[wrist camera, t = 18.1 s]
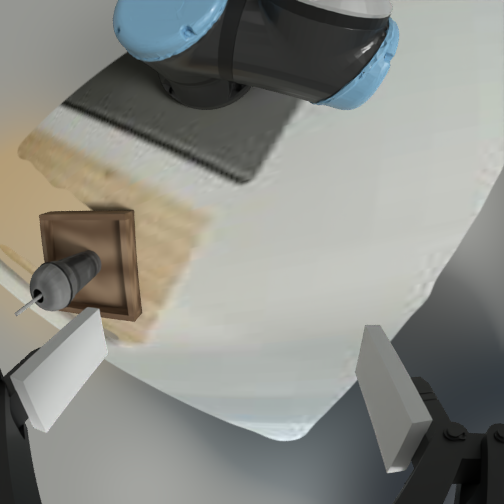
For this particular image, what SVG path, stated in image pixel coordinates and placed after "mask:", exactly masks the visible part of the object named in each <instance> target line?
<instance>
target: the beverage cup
mask: <svg viewBox="0 0 504 504" xmlns="http://www.w3.org/2000/svg"><path fill="white" fill-rule="evenodd" d="M100 270H101V260H100V257H99V256H98V255H97V254H96V253H95V252H94V251H91V250H87V251H84V252H80V253H77V254H74V255H72V256H69V257H66V258H63V259H61V260H58V261H51V262H46V263H43V264H42V265H41V266H40V267H39V268H38V269H37V270H36V271H35V272H34V274H33V275H32V278H31V281H30V293H31V296H32V298H33V300H31V301H30V302H29V303H27V304H26V305H25V306H23V307H22V308H21V309H19V310H18V311H17V312H16V313H15V315H16V316H18V315H19V314H20V313H22V312H23V311H24V310H25V309H27V308H28V307H29V306H31V305H32V304H33V303H36V304H37V305H38V306H39V307H40V308H42V309H44V310H47V311H57V310H60V309H63V308H66V307H67V306H68V305H69V304H70V303H71V301H72V300H73V298H74V297H75V295H76V294H77V293H78V292H79V291H80V290H81V289H82V288H83V287H84V286H85V285H86V284H87V283H89V282H90V281H91V280H92V279H93V278H94V277H95V276H96V275H97V274H98V273H99V272H100Z"/></svg>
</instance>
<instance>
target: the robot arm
mask: <svg viewBox="0 0 504 504" xmlns="http://www.w3.org/2000/svg"><path fill="white" fill-rule="evenodd" d="M392 10H393V6H392V3H391V2H390V0H118V2H117V5H116V7H115V11H114V16H113V27H114V32H115V34H116V37H117V38H118V40H119V42H120V43H121V44H122V45H123V46H124V47H125V48H126V50H127V51H128V52H129V54H131V55H132V56H133V57H135V58H136V59H139V60H141V61H143V62H144V63H145V64H147V65H148V66H150V67H151V68H153V69H154V70H156V71H157V72H158V74H159V78H160V81H161V83H162V85H163V87H164V89H165V90H166V91H167V93H168V94H169V95H170V96H171V97H172V98H174V99H175V100H177V101H178V102H180V103H182V104H183V105H185V106H188V107H191V108H194V109H201V110H211V109H217V108H221V107H225V106H227V105H230V104H232V103H233V102H235V101H237V100H238V99H240V98H241V97H242V96H243V95H245V94H246V93H247V92H248V90H249V89H250V88H251V87H252V86H254V87H258V88H262V89H266V90H270V91H274V92H278V93H281V94H285V95H289V96H292V97H296V98H299V99H303V100H306V101H309V102H310V103H312V104H317V105H326V106H330V107H333V108H337V109H341V110H351V109H355V108H357V107H359V106H361V105H362V104H364V103H365V102H366V101H367V100H368V99H369V98H370V97H371V96H372V95H373V94H374V92H375V91H376V90H377V88H378V87H379V86H380V84H381V83H382V81H383V79H384V78H385V76H386V74H387V72H388V70H389V68H390V60H391V59H392V58H393V57H394V55H395V53H396V49H397V46H398V41H399V29H398V26H397V24H396V22H394V21H393V20H392V19H391V18H390V15H391V12H392ZM107 354H108V351H107V346H106V342H105V337H104V332H103V327H102V321H101V316H100V310H99V308H91V307H87V308H86V309H84V310H83V311H82V312H81V313H80V314H79V315H77V316H76V317H75V318H74V319H73V320H72V321H70V322H69V323H68V324H67V325H66V326H65V327H64V328H62V329H61V330H60V331H59V332H58V333H57V334H56V335H55V336H53V337H52V338H51V339H50V340H49V341H48V342H47V343H46V344H44V345H43V346H42V347H40V348H38V349H36V350H34V351H32V352H30V353H29V354H28V355H27V356H26V357H25V359H23V360H21V362H20V364H19V363H18V364H17V365H16V366H15V367H14V368H13V369H12V370H11V371H10V372H8V373H7V375H5V376H4V377H3V375H2V372H1V370H0V504H42V503H41V499H40V495H39V491H38V487H37V483H36V478H35V473H34V468H33V462H32V457H31V451H30V444H29V439H28V430H27V427H26V424H25V421H26V420H27V419H28V418H29V420H30V422H31V424H32V426H33V428H36V429H38V430H41V431H43V432H45V433H47V432H48V430H49V429H50V428H51V426H52V425H53V424H54V422H55V421H56V420H57V418H58V417H59V416H60V414H61V413H62V412H63V410H64V409H65V408H66V406H67V405H68V404H69V403H70V401H71V400H72V399H73V397H74V396H75V395H76V393H77V392H78V391H79V389H80V388H81V387H82V386H83V384H84V383H85V382H86V381H87V379H88V378H89V377H90V375H91V374H92V373H93V372H94V370H95V369H96V368H97V367H98V365H99V364H100V363H101V362H102V360H103V359H104V358H105V357H106V355H107ZM355 373H356V376H357V379H358V382H359V385H360V388H361V391H362V393H363V396H364V399H365V403H366V406H367V409H368V412H369V415H370V418H371V421H372V424H373V427H374V431H375V434H376V437H377V441H378V444H379V447H380V451H381V454H382V457H383V461H384V464H385V468H386V471H387V473H391V472H397V471H403V470H406V469H407V467H408V466H409V464H410V462H411V461H412V464H413V466H414V470H413V472H412V473H411V475H410V476H409V478H408V479H407V481H406V483H405V485H404V487H403V488H402V490H401V492H400V493H399V494H398V496H397V498H396V499H395V501H394V502H393V504H443V502H444V500H445V498H446V496H447V494H448V491H449V489H450V487H451V485H452V484H456V493H455V500H454V504H504V424H501V423H500V424H494V425H491V426H490V428H489V429H488V430H487V432H486V433H485V434H478V433H468V431H467V429H466V428H464V426H463V425H461V424H459V423H456V422H451V421H450V419H449V417H448V415H447V414H446V412H445V410H444V408H443V407H442V405H441V403H440V402H439V400H437V396H436V395H435V393H433V390H432V388H431V386H430V385H429V383H428V382H426V381H425V380H424V379H422V378H421V377H412V378H410V376H409V375H408V373H407V371H406V369H405V367H404V366H403V364H402V362H401V360H400V359H399V357H398V355H397V353H396V352H395V350H394V348H393V346H392V345H391V343H390V341H389V339H388V338H387V336H386V334H385V333H384V331H383V329H382V328H381V326H380V325H365V328H364V333H363V338H362V343H361V348H360V353H359V357H358V362H357V366H356V371H355Z"/></svg>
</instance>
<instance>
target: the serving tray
mask: <svg viewBox="0 0 504 504" xmlns="http://www.w3.org/2000/svg"><path fill="white" fill-rule="evenodd" d="M39 218H40V228H41V237H42V246H43V254H44V260H45V263H46V262H51V261H58V260H61V259H63V258H66V257H69V256H72V255H74V254H77V253H80V252H84V251H87V250H91V251H94V252H95V253H96V254H97V255H98V256H99V257H100V260H101V270H100V272H99V273H98V274H97V275H96V276H95V277H94V278H93V279H92V280H91V281H90V282H89V283H87V284H86V285H85V286H84V287H83V288H82V289H81V290H80V291H79V292H78V293H77V294H76V295H75V297H74V298H73V300H72V301H71V303H70V304H69V305H68V306H67V307H66V308H63V309H60V310H59V311H65V312H71V313H78V314H80V313H81V312H82V311H83V310H84V309H86V308H87V307H91V308H99V310H100V316H101V317H103V318H111V319H118V320H126V321H134V322H135V321H136V319H137V318H138V317H139V316H140V315H141V313H142V307H141V298H140V289H139V279H138V268H137V255H136V241H135V222H134V210H120V211H55V212H48V213H44V214H41V215H39Z"/></svg>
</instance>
